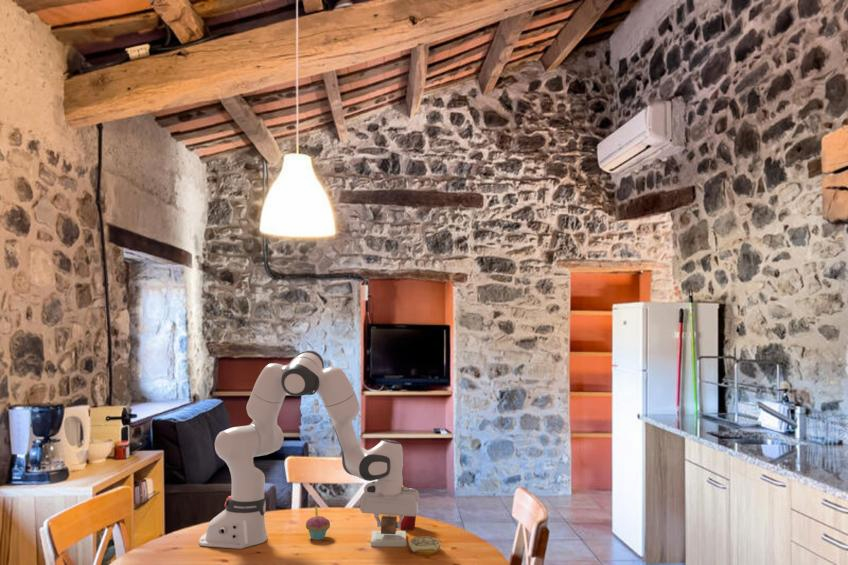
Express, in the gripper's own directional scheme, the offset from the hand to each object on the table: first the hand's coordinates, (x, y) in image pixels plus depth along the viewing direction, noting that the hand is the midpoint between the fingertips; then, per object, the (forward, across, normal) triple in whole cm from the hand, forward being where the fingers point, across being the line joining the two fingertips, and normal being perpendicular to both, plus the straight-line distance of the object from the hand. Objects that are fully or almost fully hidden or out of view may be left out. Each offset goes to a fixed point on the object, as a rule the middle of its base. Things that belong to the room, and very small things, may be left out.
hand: (388, 527), depth 229 cm
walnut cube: (+2, 0, 0) cm, 2 cm away
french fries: (+5, -3, -15) cm, 16 cm away
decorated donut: (+5, -14, +7) cm, 16 cm away
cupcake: (+5, +25, +2) cm, 26 cm away
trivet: (+5, 0, 0) cm, 5 cm away
